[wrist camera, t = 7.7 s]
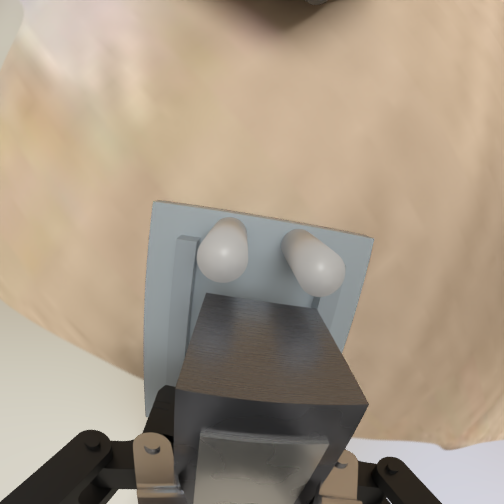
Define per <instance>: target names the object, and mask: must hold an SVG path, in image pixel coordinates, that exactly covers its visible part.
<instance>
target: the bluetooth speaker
mask: <svg viewBox="0 0 504 504" xmlns="http://www.w3.org/2000/svg"><path fill="white" fill-rule="evenodd" d="M305 1H306V2H308V3H310V4H313V5H319V4H323V3H325V2H326V1H328V0H305Z"/></svg>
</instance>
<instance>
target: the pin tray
mask: <svg viewBox="0 0 504 504" xmlns="http://www.w3.org/2000/svg"><path fill="white" fill-rule="evenodd" d="M373 242H374V239H373V238H371V237H369V236H367V235H362V234H357V233H352V232H347V231H342V230H337V229H332V228H327V227H322V226H316V225H311V224H306V223H300V222H295V221H289V220H283V219H278V218H272V217H266V216H260V215H254V214H248V213H242V212H236V211H230V210H223V209H217V208H210V207H204V206H197V205H190V204H184V203H177V202H169V201H162V200H158V201H153V208H152V216H151V225H150V234H149V245H148V256H147V270H146V285H145V307H144V392H145V411H146V417H149V414H150V412H151V409H152V407H153V403H154V401H155V398H156V395H157V393H158V391H159V390H160V389H161V388H162V387H163V386H165V385H169V386H174V387H176V384H177V381H178V377H179V375H180V372H181V369H182V365H183V362H184V359H185V356H186V353H187V349H188V346H189V343H190V340H191V337H192V334H193V331H194V328H195V325H196V322H197V318H198V315H199V312H200V309H201V306H202V303H203V300H204V297H205V294H206V292H207V293H213V294H219V295H225V296H231V297H237V298H244V299H251V300H257V301H264V302H271V303H278V304H285V305H293V306H300V307H308V308H316V309H317V310H318V312H319V314H320V316H321V317H322V319H323V321H324V323H325V325H326V326H327V328H328V330H329V332H330V333H331V335H332V337H333V339H334V341H335V342H336V344H337V346H338V348H339V350H340V352H341V353H342V351H343V348H344V345H345V342H346V339H347V336H348V333H349V330H350V327H351V324H352V321H353V317H354V314H355V311H356V307H357V304H358V300H359V297H360V293H361V290H362V286H363V282H364V279H365V275H366V271H367V267H368V263H369V259H370V255H371V251H372V246H373Z"/></svg>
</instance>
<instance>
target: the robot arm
mask: <svg viewBox="0 0 504 504" xmlns="http://www.w3.org/2000/svg"><path fill="white" fill-rule="evenodd" d="M178 378H179V377H178ZM176 385H177V384H176ZM175 388H176V387H174V386H169V385H165V386H163V387H162V388H161V389H160V390H159V391H158V393H157V395H156V398H155V401H154V403H153V407H152V409H151V412H150V414H149V417H148V420H147V423H146V426H145V428H144V431H143V433H142V434H140V435H138V436H137V437H136V438H135V439H134V440H131V441H110V440H109V438H108V437H107V436H106V435H105V434H104V433H102V432H100V431H96V430H86V431H83V432H81V433H79V434H78V435H77V436H76V437H74V438H73V439H72V440H71V441H70V442H69V443H68V444H67V445H66V446H64V447H63V448H62V449H61V450H60V451H59V452H57V453H56V454H55V455H54V456H53V457H52V458H51V459H50V460H48V461H47V462H46V463H45V464H44V465H43V466H41V467H40V468H39V469H38V470H37V471H36V472H35V473H33V474H32V475H31V476H30V477H29V478H28V479H26V480H25V481H24V482H23V483H22V484H21V485H19V486H18V487H17V488H16V489H15V490H14V491H12V492H11V493H10V494H9V495H8V496H7V497H5V498H4V499H3V500H2V501H1V502H0V504H106V503H107V502H108V501H109V500H110V499H111V498H112V496H113V495H114V494H115V493H116V491H117V490H118V489H137V498H138V504H187V502H186V498H185V494H184V491H183V489H182V488H181V486H180V483H179V479H178V474H177V470H174V409H175ZM386 497H387V498H388V499H389V501H390V502H391V503H392V504H442V503H441V502H440V501H439V500H438V499H437V498H436V497H435V496H434V495H433V494H432V493H431V492H430V490H429V489H428V488H427V487H426V486H425V485H424V484H423V483H422V482H421V481H420V480H419V479H418V478H417V477H416V475H415V474H414V473H413V472H412V471H411V470H410V469H409V468H408V467H407V466H406V465H405V463H404V462H402V461H401V460H400V459H398V458H395V457H385V458H382V459H381V460H380V461H379V462H378V463H377V464H374V463H366V462H361V461H358V460H357V458H356V456H355V455H354V454H353V453H351V452H349V451H347V450H346V449H344V451H343V453H342V454H341V456H340V458H339V459H338V461H337V463H336V464H335V466H334V467H333V469H332V470H331V472H330V474H329V475H328V477H327V478H326V480H321V481H320V482H319V484H318V486H317V488H316V493H315V496H314V497H313V498H312V500H311V501H310V502H309V504H390V502H389V501H388V500H387V499H386Z"/></svg>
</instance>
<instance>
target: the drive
mask: <svg viewBox="0 0 504 504" xmlns="http://www.w3.org/2000/svg"><path fill="white" fill-rule="evenodd" d="M368 405H369V403H368V402H367V400H366V398H365V396H364V394H363V392H362V390H361V388H360V387H359V385H358V383H357V381H356V379H355V377H354V375H353V374H352V372H351V370H350V368H349V366H348V364H347V363H346V361H345V359H344V357H343V355H342V353H341V352H340V350H339V348H338V346H337V344H336V342H335V341H334V339H333V337H332V335H331V333H330V332H329V330H328V328H327V326H326V325H325V323H324V321H323V319H322V317H321V316H320V314H319V312H318V310H317V309H316V308H308V307H300V306H293V305H285V304H278V303H271V302H264V301H257V300H251V299H244V298H237V297H231V296H225V295H219V294H213V293H207V292H206V294H205V297H204V300H203V303H202V306H201V309H200V312H199V315H198V318H197V322H196V325H195V328H194V331H193V334H192V337H191V340H190V343H189V346H188V349H187V353H186V356H185V359H184V362H183V365H182V369H181V372H180V375H179V378H178V381H177V385H176V388H175V409H174V470H177V474H178V479H179V483H180V486H181V488H182V489H183V491H184V494H185V498H186V502H187V504H309V502H310V501H311V500H312V498H313V497H314V496H315V493H316V488H317V486H318V484H319V482H320V481H321V480H326V478H327V477H328V475H329V474H330V472H331V470H332V469H333V467H334V466H335V464H336V463H337V461H338V459H339V458H340V456H341V454H342V453H343V451H344V449H345V448H346V446H347V444H348V442H349V441H350V439H351V437H352V436H353V434H354V432H355V430H356V428H357V426H358V425H359V423H360V421H361V419H362V417H363V415H364V413H365V411H366V409H367V407H368Z"/></svg>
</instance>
